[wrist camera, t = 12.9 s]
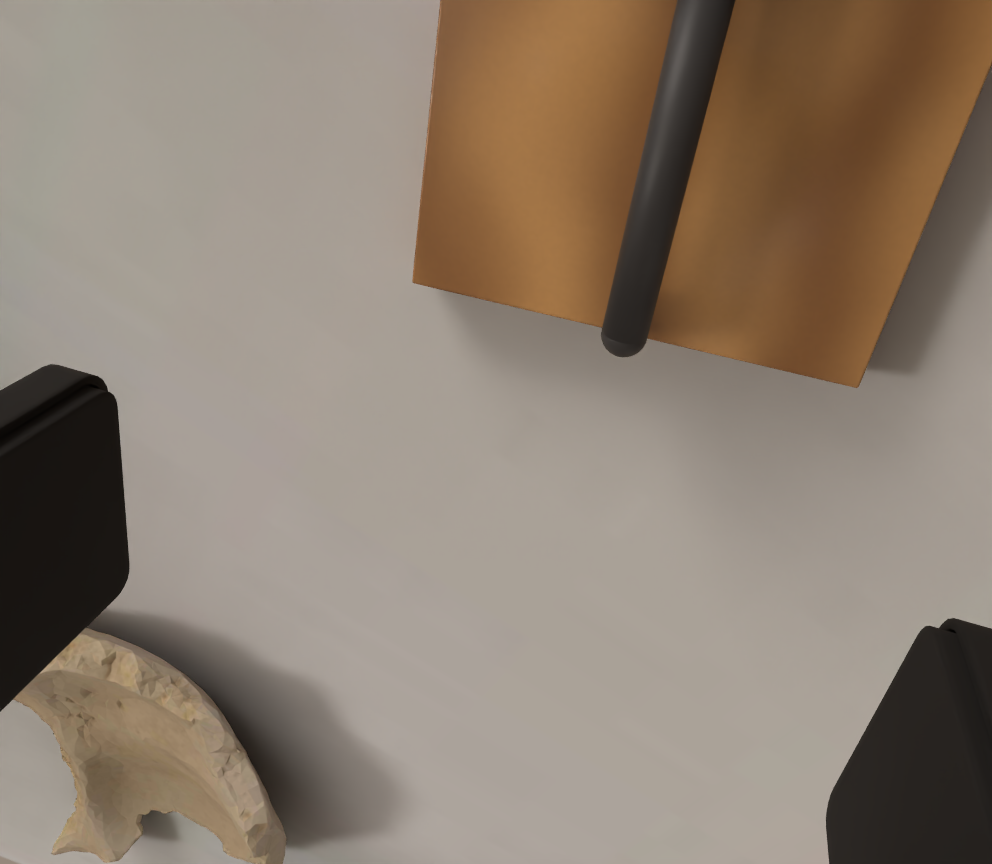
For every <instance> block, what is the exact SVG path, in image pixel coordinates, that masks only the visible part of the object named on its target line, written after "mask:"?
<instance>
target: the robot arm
mask: <svg viewBox="0 0 992 864" xmlns="http://www.w3.org/2000/svg"><path fill="white" fill-rule="evenodd" d="M128 574H129V553H128V540H127V527H126V513H125V500H124V487H123V473H122V460H121V447H120V433H119V420H118V407H117V402H116V399H115V397H114V395H113V394H111V393H110V392H108V389H107V386H106V384H105V383H104V381H103V380H102V379H101V378H99V377H98V376H95V375H92V374H88V373H84V372H81V371H77V370H74V369H70V368H67V367H63V366H60V365H52V364H50V365H47V366H44V367H42V368H40V369H38V370H36V371H35V372H33V373H31V374H29V375H27V376H26V377H24V378H22V379H20V380H18V381H17V382H15V383H13V384H11V385H9V386H8V387H6V388H4V389H2V390H0V711H1V710H2V709H3V708H5V707H6V706H7V705H8V704H9V703H10V702H11V701H12V700H13V699H14V698H15V697H16V696H17V695H18V694H19V693H20V692H21V691H22V690H23V689H24V688H25V687H26V686H27V685H28V684H29V683H30V682H31V681H32V680H33V679H34V678H35V677H36V676H37V675H38V674H39V673H40V672H41V671H42V670H43V669H44V668H45V667H46V666H47V665H48V664H49V663H50V662H51V661H52V660H53V659H54V658H55V657H56V656H57V655H58V654H59V653H60V652H61V651H63V650H64V649H65V648H66V647H67V646H68V645H69V644H70V643H71V642H72V641H73V640H74V639H75V638H76V637H77V636H78V635H79V634H80V633H81V632H82V631H83V630H84V629H85V628H86V627H87V626H88V625H89V624H90V623H91V622H92V621H93V620H94V619H95V618H96V617H97V616H98V615H99V614H100V613H101V612H102V611H103V610H104V609H105V608H106V607H107V606H108V605H109V604H110V603H111V602H112V601H113V600H114V599H115V598H116V597H117V596H118V595H119V594H120V593H121V591H122V589H123V588H124V586H125V584H126V581H127V579H128ZM826 831H827V842H828V854H829V864H992V629H990V628H987V627H983V626H980V625H976V624H973V623H969V622H966V621H962V620H959V619H955V618H952V619H948V620H946V621H945V622H944V623H943V624H942V625H941V626H940V628H935V627H932V626H925V627H924V628H923V629H922V630H921V631H920V632H919V634H918V635H917V637H916V639H915V641H914V643H913V644H912V646H911V648H910V650H909V652H908V654H907V655H906V657H905V659H904V661H903V663H902V664H901V666H900V668H899V670H898V672H897V674H896V675H895V677H894V679H893V681H892V683H891V685H890V686H889V688H888V690H887V692H886V694H885V695H884V697H883V699H882V701H881V703H880V705H879V706H878V708H877V710H876V712H875V714H874V716H873V717H872V719H871V721H870V723H869V725H868V726H867V728H866V730H865V732H864V734H863V736H862V737H861V739H860V741H859V743H858V745H857V746H856V748H855V750H854V752H853V754H852V756H851V757H850V759H849V761H848V763H847V765H846V767H845V768H844V770H843V772H842V774H841V776H840V777H839V779H838V781H837V783H836V785H835V787H834V788H833V791H832V793H831V795H830V799H829V802H828V807H827V814H826Z"/></svg>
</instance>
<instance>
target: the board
mask: <svg viewBox="0 0 992 864" xmlns="http://www.w3.org/2000/svg"><path fill="white" fill-rule="evenodd" d="M676 4H677V0H440V10H439V20H438V30H437V40H436V50H435V60H434V70H433V80H432V90H431V100H430V110H429V120H428V130H427V140H426V150H425V160H424V170H423V180H422V190H421V200H420V210H419V220H418V230H417V240H416V250H415V260H414V270H413V280H412V281H413V283H416V284H420V285H424V286H428V287H433V288H437V289H441V290H445V291H449V292H454V293H458V294H462V295H466V296H471V297H475V298H479V299H483V300H487V301H492V302H496V303H500V304H504V305H509V306H513V307H517V308H521V309H525V310H530V311H534V312H538V313H542V314H547V315H551V316H555V317H559V318H563V319H568V320H572V321H576V322H580V323H585V324H589V325H593V326H597V327H601V328H602V326H603V322H604V318H605V313H606V309H607V305H608V300H609V296H610V291H611V287H612V283H613V278H614V274H615V270H616V265H617V261H618V257H619V252H620V248H621V243H622V239H623V235H624V230H625V226H626V222H627V217H628V213H629V209H630V204H631V200H632V195H633V191H634V187H635V182H636V178H637V174H638V169H639V165H640V161H641V156H642V152H643V147H644V143H645V139H646V134H647V130H648V126H649V121H650V117H651V113H652V108H653V104H654V100H655V95H656V91H657V86H658V82H659V78H660V73H661V69H662V65H663V60H664V56H665V52H666V47H667V43H668V38H669V34H670V30H671V25H672V21H673V17H674V12H675V8H676ZM991 65H992V0H735V4H734V8H733V12H732V15H731V19H730V23H729V27H728V31H727V35H726V38H725V42H724V46H723V50H722V54H721V58H720V61H719V65H718V69H717V73H716V77H715V81H714V84H713V88H712V92H711V96H710V100H709V104H708V107H707V111H706V115H705V119H704V123H703V127H702V130H701V134H700V138H699V142H698V146H697V150H696V153H695V157H694V161H693V165H692V169H691V173H690V176H689V180H688V184H687V188H686V192H685V196H684V199H683V203H682V207H681V211H680V215H679V219H678V222H677V226H676V230H675V234H674V238H673V242H672V245H671V249H670V253H669V257H668V261H667V265H666V268H665V272H664V276H663V280H662V284H661V288H660V291H659V295H658V299H657V303H656V307H655V311H654V314H653V318H652V322H651V326H650V330H649V334H648V337H647V338H648V339H652V340H656V341H660V342H665V343H669V344H673V345H677V346H682V347H686V348H690V349H694V350H698V351H703V352H707V353H711V354H715V355H720V356H724V357H728V358H732V359H736V360H741V361H745V362H749V363H753V364H758V365H762V366H766V367H770V368H774V369H779V370H783V371H787V372H791V373H796V374H800V375H804V376H808V377H812V378H817V379H821V380H825V381H829V382H834V383H838V384H842V385H846V386H850V387H855V388H858V387H859V385H860V383H861V380H862V378H863V375H864V373H865V371H866V368H867V366H868V363H869V361H870V358H871V356H872V354H873V351H874V349H875V346H876V344H877V341H878V339H879V337H880V334H881V332H882V329H883V327H884V324H885V322H886V320H887V317H888V315H889V312H890V310H891V308H892V305H893V303H894V300H895V298H896V295H897V293H898V291H899V288H900V286H901V283H902V281H903V278H904V276H905V274H906V271H907V269H908V266H909V264H910V261H911V259H912V257H913V254H914V252H915V249H916V247H917V244H918V242H919V240H920V237H921V235H922V232H923V230H924V228H925V225H926V223H927V220H928V218H929V215H930V213H931V211H932V208H933V206H934V203H935V201H936V198H937V196H938V194H939V191H940V189H941V186H942V184H943V181H944V179H945V177H946V174H947V172H948V169H949V167H950V165H951V162H952V160H953V157H954V155H955V152H956V150H957V148H958V145H959V143H960V140H961V138H962V135H963V133H964V131H965V128H966V126H967V123H968V121H969V118H970V116H971V114H972V111H973V109H974V106H975V104H976V102H977V99H978V97H979V94H980V92H981V89H982V87H983V85H984V82H985V80H986V77H987V75H988V72H989V70H990V68H991Z"/></svg>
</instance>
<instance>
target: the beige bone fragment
mask: <svg viewBox="0 0 992 864" xmlns="http://www.w3.org/2000/svg"><path fill="white" fill-rule="evenodd" d="M13 700H16V701H18V702H20V703H22V704H23V705H25V706H28V707H30V708H31V709H32V710H33V711H34V712H35V713H36V714H38V715H39V717H40V718H41V719H42V720H43V721H44V722H46V723H47V724H48V725H49V726H50V727H51V729H52V730H53V732H54V733H53V734H55V737H56V739H57V741H58V743H59V744H60V749H61V753H62V759H63V761H65V762H66V763H67V765H68V766H69V767H70V768H71V772H72V774H73V777H74V778H75V788H76V790H77V798H76V802H75V803H74V806H75V807H76V811H75V812H74V813H73V814H72V816H71V817H70V818H69V819H68V820H67V823H66V825H65V827H64V829H63V831H62V833H61V835H60V836H59V838H58V839H57V840H56V842H55V844H54V846H53V851H52V853H51V854H53V855H56V854H61V853H65V852H69V851H79V852H91V853H94V854H96V855H97V856H98V857H99V858H100V859H101V860H103V861H104V862H106V863H107V862H114V861H119V860H120V859H121V858H122V857H123V855H124V854H125V853H126V852H127V851H128V850H129V849H130V847H131V846H132V845H133V844H134V843H135V842H136V841H137V840H138V838H139V837H140V836H142V835H143V827H142V825H141V823H140V821H141V818H142V815H143V814H146V815H147V814H148V813H149V812H150V811H151V810H157V811H160V812H162V813H164V814H166V813H168V812H172V811H175V812H179V813H180V814H182V815H183V816H185V817H187V818H188V819H190V820H192V821H194V822H195V823H197V824H199V825H201V826H203V827H206V828H207V829H209V830H210V831H211V832H213V833H214V834H215V835H216V836H217V837H218V838H219V839H220V840H221V842H222V843H223V851H224V852H225V853H226V854H227V855H229V856H232V857H234V858H237V859H242V860H244V861H247V862H251V863H254V864H255V863H256V864H283V860H284V856H285V848H286V841H287V839H286V836H285V833H284V829H283V826H282V824H281V822H280V820H279V818H278V816H277V814H276V813H275V811H274V809H273V807H272V805H271V802H270V800H269V796H268V793H267V791H266V789H265V787H264V786H263V784H262V782H261V779H260V777H259V776H258V774H257V772H256V770H255V769H254V767H253V765H252V764H251V762H250V760H249V758H248V756H247V752H246V751H245V749H244V748H243V746H242V745H241V743H240V742H239V740H238V739H237V737H236V735H235V733H234V732H233V730H232V728H231V726H230V724H229V723H228V722H227V720H226V718H225V717H224V715H223V713H222V712H221V711H220V709H219V708H218V707H217V706H216V704H215V703H214V702H213V700H212V699H211V698H210V697H209V696H208V695H207V694H206V693H205V691H204V690H203V689H201V688H200V687H199V686H198V685H197V684H195V683H194V682H193V681H192V680H191V679H190V678H189V677H187V676H186V675H185V674H184V673H182V672H181V671H179V670H178V669H176V668H175V667H173V666H172V665H170V664H169V663H167V662H166V661H164V660H163V659H161V658H160V657H158V656H156V655H154V654H152V653H150V652H148V651H146V650H144V649H142V648H140V647H138V646H136V645H134V644H131V643H129V642H126V641H124V640H121V639H119V638H116V637H114V636H111V635H109V634H104V633H100V632H97V631H94V630H92V629H89V628H85V629H84V630H83V631H82V632H81V633H80V634H79V635H78V636H77V637H76V638H75V639H74V640H73V641H72V642H71V643H70V644H69V645H68V646H67V647H66V648H65V649H64V650H63V651H61V652H60V653H59V654H58V655H57V656H56V657H55V658H54V659H53V660H52V661H51V662H50V663H49V664H48V665H47V666H46V667H45V668H44V669H43V670H42V671H41V672H40V673H39V674H38V675H37V676H36V677H35V678H34V679H33V680H32V681H31V682H30V683H29V684H28V685H27V686H26V687H25V688H24V689H23V690H22V691H21V692H20V693H19V694H18V695H17V696H16V697H15V698H14V699H13Z"/></svg>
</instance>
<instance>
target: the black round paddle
mask: <svg viewBox="0 0 992 864" xmlns="http://www.w3.org/2000/svg"><path fill="white" fill-rule="evenodd" d="M734 4H735V0H677V4H676V8H675V12H674V17H673V21H672V25H671V30H670V34H669V38H668V43H667V47H666V52H665V56H664V60H663V65H662V69H661V73H660V78H659V82H658V86H657V91H656V95H655V100H654V104H653V108H652V113H651V117H650V121H649V126H648V130H647V134H646V139H645V143H644V147H643V152H642V156H641V161H640V165H639V169H638V174H637V178H636V182H635V187H634V191H633V195H632V200H631V204H630V209H629V213H628V217H627V222H626V226H625V230H624V235H623V239H622V243H621V248H620V252H619V257H618V261H617V265H616V270H615V274H614V278H613V283H612V287H611V291H610V296H609V300H608V305H607V309H606V313H605V318H604V322H603V326H602V332H601V338H602V341H603V344H604V346H605V348H606V349H607V350H608V351H609V352H610V353H612V354H613V355H615V356H618V357H630V356H633V355H635V354H637V353H638V352H639V351H640V350H641V349H642V348H643V347H644V345H645V343H646V341H647V337H648V334H649V330H650V326H651V322H652V318H653V314H654V311H655V307H656V303H657V299H658V295H659V291H660V288H661V284H662V280H663V276H664V272H665V268H666V265H667V261H668V257H669V253H670V249H671V245H672V242H673V238H674V234H675V230H676V226H677V222H678V219H679V215H680V211H681V207H682V203H683V199H684V196H685V192H686V188H687V184H688V180H689V176H690V173H691V169H692V165H693V161H694V157H695V153H696V150H697V146H698V142H699V138H700V134H701V130H702V127H703V123H704V119H705V115H706V111H707V107H708V104H709V100H710V96H711V92H712V88H713V84H714V81H715V77H716V73H717V69H718V65H719V61H720V58H721V54H722V50H723V46H724V42H725V38H726V35H727V31H728V27H729V23H730V19H731V15H732V12H733V8H734Z"/></svg>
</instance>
